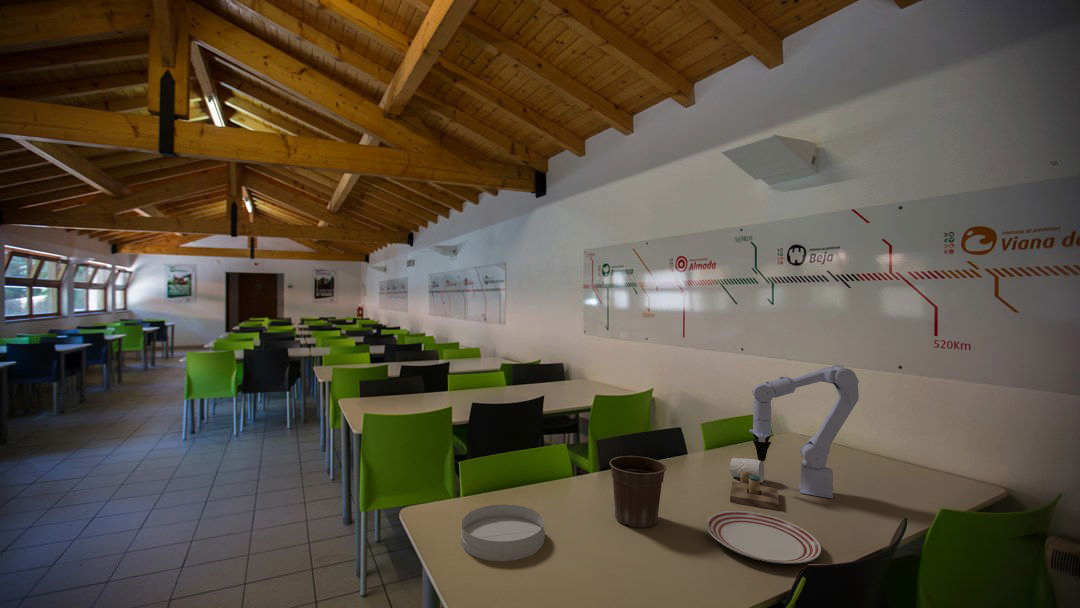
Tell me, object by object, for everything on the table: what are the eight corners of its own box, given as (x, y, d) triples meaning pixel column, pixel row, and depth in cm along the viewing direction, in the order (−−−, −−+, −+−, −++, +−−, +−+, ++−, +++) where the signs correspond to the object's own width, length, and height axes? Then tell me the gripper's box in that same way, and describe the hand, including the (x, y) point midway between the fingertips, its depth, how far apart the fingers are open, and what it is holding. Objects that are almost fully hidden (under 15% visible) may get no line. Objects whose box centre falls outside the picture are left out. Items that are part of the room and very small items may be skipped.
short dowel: (750, 483, 172) (750, 472, 172) (750, 486, 169) (750, 475, 169) (740, 482, 173) (740, 471, 173) (740, 485, 170) (740, 473, 170)
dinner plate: (821, 537, 133) (821, 525, 133) (820, 587, 109) (820, 572, 109) (716, 513, 147) (716, 502, 147) (695, 553, 123) (695, 540, 123)
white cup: (731, 483, 177) (761, 487, 171) (727, 465, 175) (757, 469, 169) (737, 468, 183) (765, 473, 177) (733, 451, 181) (762, 455, 174)
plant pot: (644, 504, 152) (645, 453, 152) (677, 527, 137) (678, 469, 137) (598, 511, 146) (599, 458, 146) (627, 536, 131) (628, 476, 131)
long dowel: (759, 497, 160) (759, 475, 160) (759, 500, 157) (760, 479, 157) (748, 495, 161) (749, 474, 161) (748, 499, 158) (749, 477, 158)
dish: (466, 567, 114) (466, 546, 114) (455, 526, 136) (456, 508, 136) (555, 556, 121) (556, 535, 121) (532, 517, 142) (532, 500, 142)
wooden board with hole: (777, 494, 162) (777, 488, 162) (778, 510, 149) (778, 503, 149) (732, 487, 168) (732, 481, 168) (730, 501, 155) (730, 495, 155)
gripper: (750, 413, 178) (749, 450, 178) (749, 421, 165) (748, 461, 165) (771, 415, 175) (770, 453, 175) (772, 424, 162) (771, 464, 162)
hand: (761, 457), depth 170 cm, fingers open, 7 cm apart
